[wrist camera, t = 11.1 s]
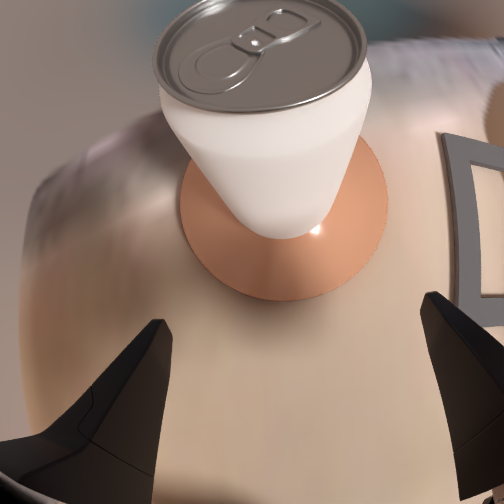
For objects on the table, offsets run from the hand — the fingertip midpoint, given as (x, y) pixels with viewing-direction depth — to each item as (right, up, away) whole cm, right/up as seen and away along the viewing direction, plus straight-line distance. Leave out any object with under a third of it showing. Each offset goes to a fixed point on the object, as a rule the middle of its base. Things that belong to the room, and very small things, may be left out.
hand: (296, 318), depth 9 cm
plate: (+1, +6, +9) cm, 11 cm away
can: (0, +6, +8) cm, 10 cm away
